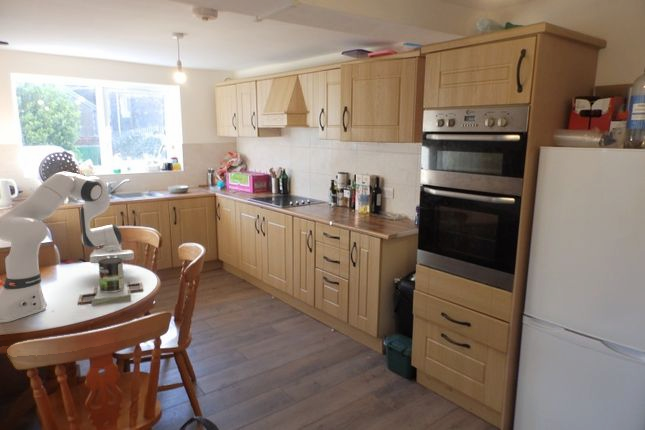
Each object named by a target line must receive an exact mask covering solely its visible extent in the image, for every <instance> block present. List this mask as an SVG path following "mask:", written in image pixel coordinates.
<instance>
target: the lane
mask: <svg viewBox="0 0 645 430" xmlns="http://www.w3.org/2000/svg"><path fill="white" fill-rule="evenodd" d="M126 286H127V288H128V289H127V294H121V295H113V296H105V297H98V298H97V297H96V296H97V294H98V293H97V292H98V285H94V287H93V291H92V292H91V293H82V294H79V297H78V301H77V305H78V306H79V304H80V305H86V304H91V306H97V305H98V306H99V305H106V304H114V303H121V302H130V300H131V301H132V294H131V293H138V292H137V291H139V292H143V291H144V288H143V287H144V286H143V282H134V283H132V282H130V281H128V282H126ZM95 297H96V298H95Z"/></svg>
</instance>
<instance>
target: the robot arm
mask: <svg viewBox="0 0 645 430" xmlns="http://www.w3.org/2000/svg"><path fill="white" fill-rule="evenodd" d="M68 197H71V198H73V199H76V200H81V201H84V204H83V205H82V206H81V207H80V210H79V211H80V212H79V215H80V218H79V219H80V225H81V226H80V227H81V243H82V244H83V246H84V247H86V248H89V249H93V251H92V252H91V253H90V255H89V263H90V264H96V263H98V262H99V261H100V260H102V259H107V258H121V259H123V261H130V260H134V259H135V252H134V251H133V250H132V249H124V250H123V249H122V245H121V243H122V242H123V237H122V233H121V231H120V230H121V229H119V227H118V226H117V225H115V224H113V223H112V224H109V225H103V226H98V227H94V228H91V224H90V223H91V220H92V219H93V218H95V217H97V216H99V215H101V214H104V213H105V212H106V211H107V210H108V209H109V207H110V205H111V199H110V195H109V192H108V190H107V187H106V185H105V183H104V181H103V180H102V178H100V177H98V176H85V175H82V174H79V173H73V172H70V171H65V170H64V171H59V172H56V173H54V174H52V175H51V176H50V177H48V178H47V179H46V180H45V181H43V182H42V183H41V184H40V185H39V186H38V187H37V188H36V189H35V190H34V191H33V192H32V194H30V195H29V196H28V197H27V198H26V199H25V200H24V201H22V202H21V203H19V204H18V205H17V206H15V207H14V208H12V209H10V210H9V211H7V212H6V213H4V214H2V215H0V240H1V241H4V242H9V243H10V250H9V254H8V255H7V256H6V257H5V260H4V262H5V271H6V277H5V280H2V279H1V280H0V286H2V287H3V288H1V290H0V323H2V324H3V323H10V322H13V321H16V320H18V319H21V318H25V317H28V316H31V315H34V314H36V313H40V312H43V311H45V310H47V308H46V307H47V302H46V300H45V295H44V293H43V290H42V285H41V282H42V277H41V276H42V275H41V272H40V268H39V253H40V248H41V244H42V242H43V241H45V239H46V238H47V236H48V227H47V225H46V223H45V222H43V221H44V220H45V219H48V218H50V217H51V216H52V215H54V214H55V212H56V211H57V210H58V209H59V208H60V207H61V205H63V203H64V202H65V201H66V200H67V198H68ZM103 245H104V246H103ZM99 246H103V247H99ZM96 247H98V248H96ZM98 264H99V263H98Z"/></svg>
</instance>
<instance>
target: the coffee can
mask: <svg viewBox="0 0 645 430" xmlns="http://www.w3.org/2000/svg"><path fill="white" fill-rule="evenodd" d="M123 261H124V260H123V259H121V258H107V259H102V260H100V261H99V262H98V270H99V271H98V273H99V288H100V289H99V290H100V292H102V293H105V294H108V293H116V292H120V291H123V289H125V287H124V285H125V284H124V269H123V268H124V265H123Z"/></svg>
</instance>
